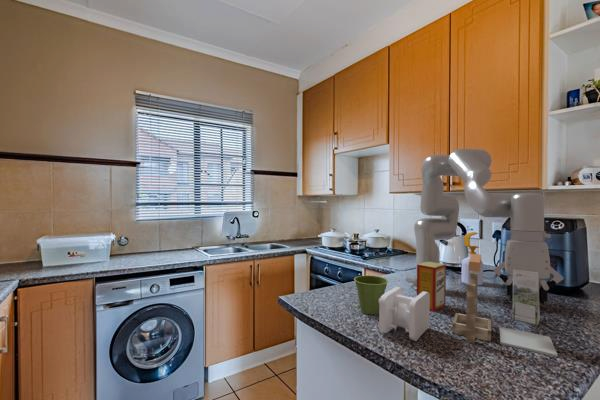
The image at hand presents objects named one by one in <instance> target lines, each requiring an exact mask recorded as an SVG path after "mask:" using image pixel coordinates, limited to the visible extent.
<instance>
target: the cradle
mask: <svg viewBox="0 0 600 400" xmlns="http://www.w3.org/2000/svg"><path fill="white" fill-rule="evenodd" d="M465 312H466V314H464V313H459V312H458V313H457V312H455V315H454V317H453V320H452V334H455V335H459V336H465V342H466V343H469V344H473V345H475V342H476V339H477V340H482V341H485V342H490V343H491V342H492V319H489V318H485V317H478V273H475V272H470V283H467V284H466V311H465Z"/></svg>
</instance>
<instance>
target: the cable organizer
mask: <svg viewBox="0 0 600 400" xmlns="http://www.w3.org/2000/svg"><path fill="white" fill-rule="evenodd" d="M379 303H380V307H379V318H378V319H379V321H378V322H379V323H378V325H379V326H378V327H379V328H378V329H379V331H380V332H381V333H384V334H388V333H389V332H390V331H392V330H393V329H394V331H397V328H398V327H400V328H403V329H404V330H405V331H404V333H405V334H406V335H407V333H408V337H409V340H411V341H414V342H418V340H419V338H420V337H421V336H422V335H423V334H425V332H426V330H427V329H428V328H429V326H430V311H429V306H430V295H429V292H425V291H423V292H422V293H420V294H419V295H418V296H417V295H416V296H415V297H413V296H412V297H411V296H407V295H404V289H403V287H399V286H395V287H393V288H391V289H389V290H388V291H386V292H385V293H384V294H383V295H382V296H381V298H380V299H379Z"/></svg>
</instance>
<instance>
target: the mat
mask: <svg viewBox="0 0 600 400" xmlns="http://www.w3.org/2000/svg"><path fill="white" fill-rule="evenodd" d="M499 341H500V343H499V344H500V345H503V346H507V347H512V348H515V349H519V350H524V351H529V352H533V353H536V354H537V353H538V354H542V355H547V356H552V357H555V358H558V352H557V350H556V348H555V345H554V343H553V341H552V339H551V336H548V335H543V334H538V333H533V332H529V331H528V332H527V331H522V330H518V329H512V328H507V327H503V326H499Z"/></svg>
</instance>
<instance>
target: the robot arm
mask: <svg viewBox="0 0 600 400" xmlns="http://www.w3.org/2000/svg"><path fill="white" fill-rule="evenodd" d="M492 160H493V159H492V156H491V154H490V153H489V152H488V151H486V150H484V149H479V148H458V149H455V150H454V151H452V152H451V153H450V154H433V155H428V156H427V157H426V158H424V160H423V162H422V164H421V169H420V171H421V181H422V184H421V185H422V186H421V197H420V212H421V213H422V214H423V215H424V216H429V217H427V218H420V219H418V220H417V221H416V222H415V223H414V226H413V228H414V235H415V243H416V248H415V249H416V250H415V251H416V256H415V257H416V261H415V263H416V265H415V269H416V270H415V271H416V272H415V273H416V274H415V277H409V276H407V277H406V279H405V280H406V282H407V283H410V284H411V283H412V287H411V288H412V289H413V290H415V291H417V265H418V264H420V263H423V262H435V263H441V262H440V261H441V260H440V259H441V257H440V253H441V252H440V251H441V250H440V248H439V246H438V244H437V243H436V241H439V240H440V241H445V240H451V239H453V238H454V237H455V236H456V233H457V229H458V221H459V212H460V203H459V200H458V199H457V197H456V196H455V195H453V194H444V187H445V185H444V182H443V179H442V177H443V176H446V177H459V178H460V179H461V180H462V181H463V182H464V183H465V184H464V191H463V192H464V197H465V200H466V202H467V204H469V206H470V207H471V208H472V209H473V211H475V212H476V213H477V214H478V215H479V216H481V217H485V218H506V219H507V218H510V227H509V228H510V231H509V232H510V234H509V237H510V239H508V240H506V243H505V251H504V261H503V262H501V263H499V264H498V265H497V266H495V267H494V268H493V273H495V274H496V275H497V276H498V277H499V278H500V279H501V280H502V281H503V283H505V284H506V296H509V300H512V301H513V269H514V270H523V271H534V272H538V273H539V281H540V283H541V285H542V286H541V287H540V303H541V304H540V305H543V306H544V305H545V302H548V298H547V293H548V291H549V289H551V288H553V287H555V285H557V284H558V283H560V282H562V281H563V280H564V277H563V276H562V275H561V274H560V273H559V272H558V271H557V270H555V269H554V267H552V266H551V261H550V260H551V259H550V253H549V252H550V251H549V246H548V243H547V242H545V241H546V240H551V239H552V234H551V233H547V232H545V197H544V195H542V194H541V193H537V192H536V193H535V192H520V193H519V192H518V193H512V192H488V191H487V190H485V189H484V186H485V185H487V184H488V183H489V182H490V180H491V178H492V170H491V169H490V167H491V165H492ZM441 176H442V177H441ZM437 216H438V217H439V218H435V217H437ZM433 217H434V218H433ZM440 217H441V218H440ZM502 270H504V272H505V274H507V276H506V275H505V274H504V273H503V272H502ZM551 275H552V276H553V278H552V279H550V277H551ZM549 279H550V280H549ZM546 280H547V281H546Z"/></svg>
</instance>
